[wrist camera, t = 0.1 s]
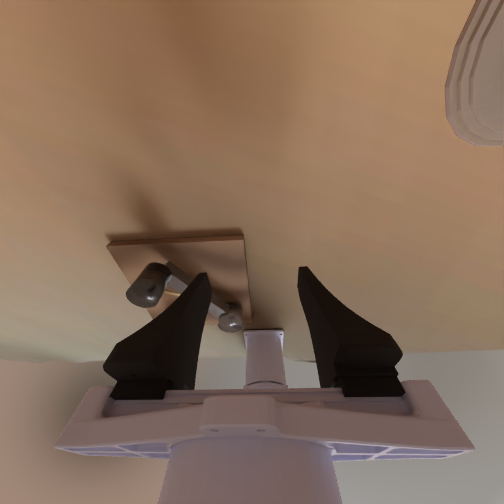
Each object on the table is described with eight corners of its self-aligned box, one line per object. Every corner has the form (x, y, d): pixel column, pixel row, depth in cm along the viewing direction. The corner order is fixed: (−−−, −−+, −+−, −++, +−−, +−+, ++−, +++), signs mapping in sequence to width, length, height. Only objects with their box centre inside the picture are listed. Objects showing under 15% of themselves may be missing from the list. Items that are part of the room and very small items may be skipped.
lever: (247, 310, 30) (245, 349, 25) (231, 318, 31) (226, 356, 26) (164, 246, 22) (137, 282, 17) (148, 259, 24) (118, 297, 19)
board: (252, 317, 34) (252, 323, 33) (159, 319, 35) (156, 325, 34) (243, 234, 23) (243, 240, 22) (111, 241, 24) (105, 246, 23)
